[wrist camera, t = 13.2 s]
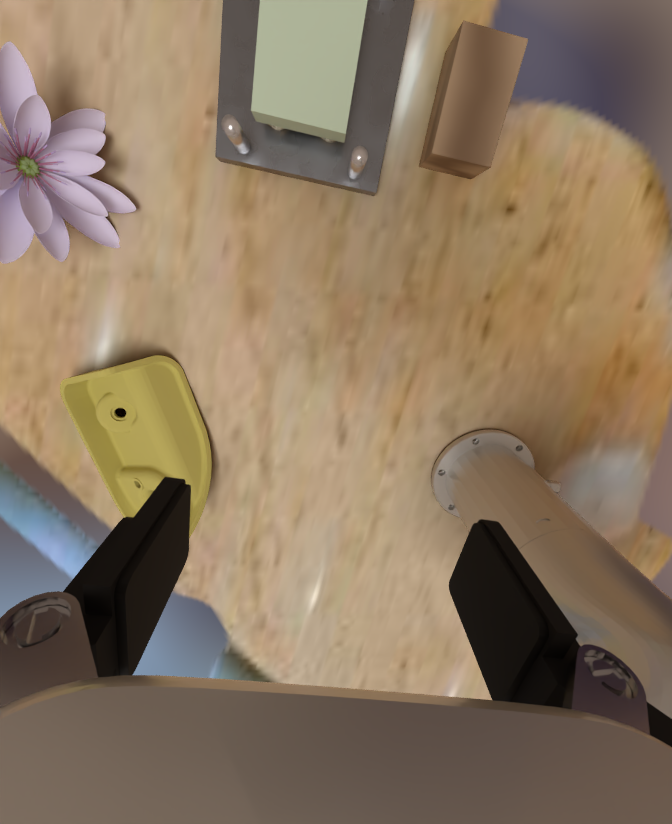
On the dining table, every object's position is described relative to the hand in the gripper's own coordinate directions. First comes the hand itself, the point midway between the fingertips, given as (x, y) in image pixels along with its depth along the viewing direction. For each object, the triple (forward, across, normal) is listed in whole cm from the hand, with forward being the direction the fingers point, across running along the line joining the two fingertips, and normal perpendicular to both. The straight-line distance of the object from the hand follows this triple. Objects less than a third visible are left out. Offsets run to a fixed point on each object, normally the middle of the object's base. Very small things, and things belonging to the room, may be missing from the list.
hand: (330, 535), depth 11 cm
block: (+28, -8, -22) cm, 37 cm away
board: (+25, +5, -23) cm, 34 cm away
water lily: (+29, +24, -10) cm, 39 cm away
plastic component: (+29, +18, +14) cm, 37 cm away
